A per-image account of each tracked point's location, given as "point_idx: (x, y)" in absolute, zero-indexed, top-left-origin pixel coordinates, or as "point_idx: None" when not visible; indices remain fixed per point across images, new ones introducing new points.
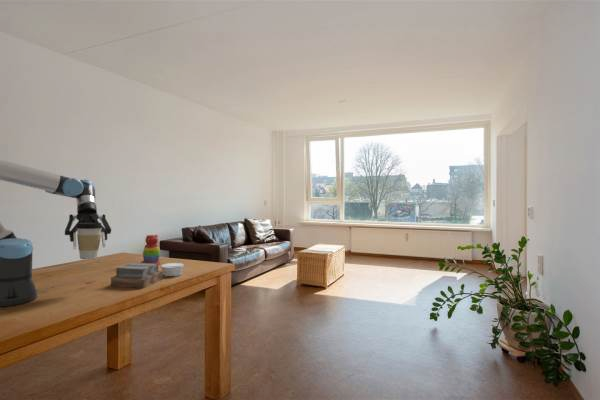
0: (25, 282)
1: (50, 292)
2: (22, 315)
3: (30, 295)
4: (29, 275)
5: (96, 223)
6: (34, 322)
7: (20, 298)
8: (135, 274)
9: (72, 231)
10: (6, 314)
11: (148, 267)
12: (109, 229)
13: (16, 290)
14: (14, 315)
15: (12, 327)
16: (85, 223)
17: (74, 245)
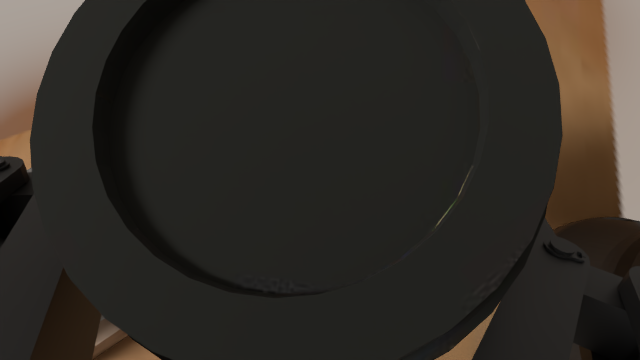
0: (624, 239)
1: (464, 340)
2: (566, 87)
3: (559, 234)
4: (632, 256)
5: (109, 165)
6: (536, 6)
7: (593, 218)
8: None
9: (553, 243)
10: (611, 129)
11: None
12: (1, 160)
13: (636, 223)
14: (588, 102)
15: (587, 2)
16: (352, 208)
17: None
